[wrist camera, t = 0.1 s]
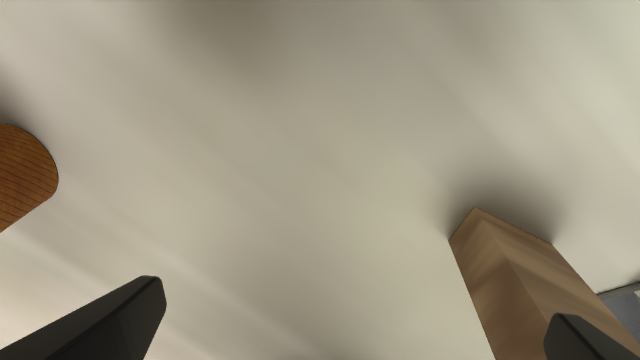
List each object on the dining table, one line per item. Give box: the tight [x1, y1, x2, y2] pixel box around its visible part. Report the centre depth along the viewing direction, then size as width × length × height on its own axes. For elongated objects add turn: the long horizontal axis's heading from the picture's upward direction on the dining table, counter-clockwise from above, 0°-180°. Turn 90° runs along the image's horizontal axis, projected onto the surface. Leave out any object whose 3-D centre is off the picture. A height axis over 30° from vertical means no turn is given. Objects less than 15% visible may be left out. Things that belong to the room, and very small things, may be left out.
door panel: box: [448, 207, 640, 360], centre depth 18 cm, size 3×6×12 cm, turn 65°
